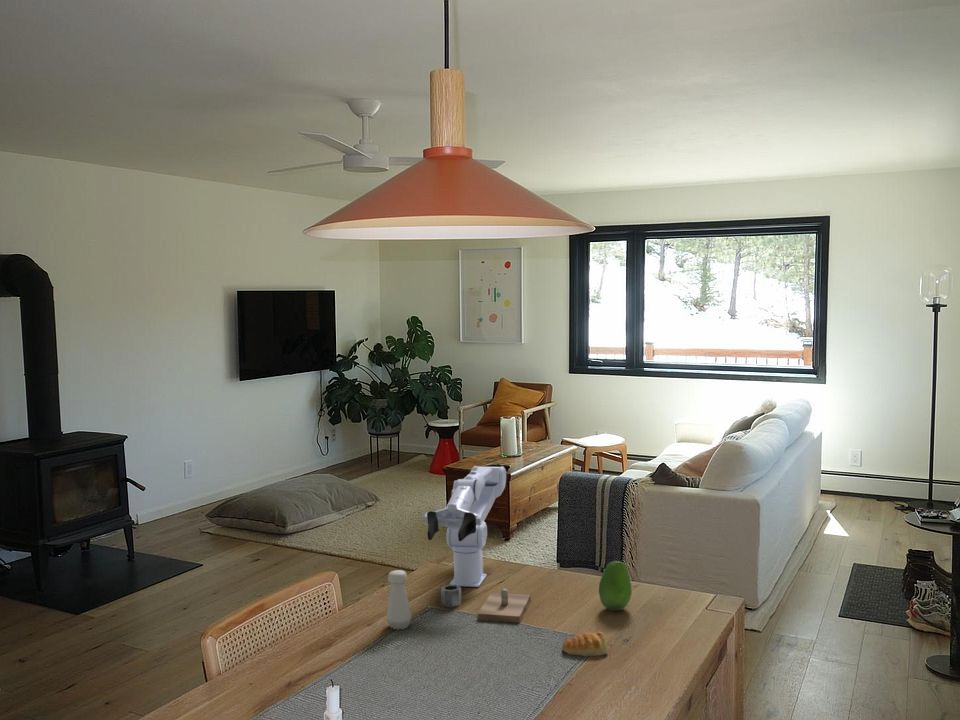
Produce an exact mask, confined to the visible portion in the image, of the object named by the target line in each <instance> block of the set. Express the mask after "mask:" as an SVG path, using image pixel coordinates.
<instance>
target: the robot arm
mask: <svg viewBox="0 0 960 720" xmlns="http://www.w3.org/2000/svg"><path fill="white" fill-rule="evenodd" d="M506 484H507V470H506V468H505V466H503V465H502V466H479V465H478V466H477V465H473V467H472V468H471V470H470V472H469V473H468V474H467V475H466V476H465V477H464V478H460V479H459V478H458V479H457V480H454V481H453V487H452V490H451V494H450V496H451V497H450V498H449V501H448V503H447V505H446V507H445V508H441V509H437V510H435V511H427V512H425V514H424V516H423V520H424V524H427V525H428V526H427V527H428V529H427V532H426V533H427V539H428V540H429V541H432V539H433V538H434V536H435V534H436V533H438V532H439V531H440V528H439V525H440V526H443V527H446V534H445V537H446V538H445V539H446V544H447V545H448V547H449V548H451V551H453V579H452V580H451V581H450V583H449V585H458V586H460V587H468V588H469V587H471V588H472V587H473V588H479V587H480V586H481V584H483V581H484V580H485V578H487V576H488V575H487V573H484V560H483V559H484V557H483V555H484V554H483V550H482V549H484V547H485V546H486V544H487V537H488V526H487V522H485V520H486V518H487V516H488V514H489V513H490V511H491V509H492V507H493V505H494V503H495V500H496V499H497V498H498V497H500V496H502V493H504V490H505V488H506Z"/></svg>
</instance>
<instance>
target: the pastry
mask: <svg viewBox="0 0 960 720" xmlns="http://www.w3.org/2000/svg"><path fill="white" fill-rule="evenodd" d="M561 648H562V650H563V652H564V653H566V654H567V655H570V654H571V656H573V655H574V656H580V657H589V656H603V655H606V654H607V653H608V652H609V649H608V644H607V640H606V636H605V634H604V632H603V631H600V630H599V631H597V632H591V631H590V632H583V633H580V634H578V635H576V636H572V637H570V638H568V639H566V640H564V641H563V643H562V645H561Z"/></svg>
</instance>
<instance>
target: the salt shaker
mask: <svg viewBox="0 0 960 720" xmlns="http://www.w3.org/2000/svg"><path fill="white" fill-rule="evenodd" d="M387 575H388V576H387V581H388V583H390V588H389V589H390V590H389V595H388V602H387V603H388V604H387V609H386V610H387V611H386V616H385V619H386V622H387V624H388V626H389V628H390V627H391V628H390V629H392V628H393V629H392V630H394V629H403V628H405V627H407V626H408V627H409V625H410V622H411V620H412V611H411V607H410V601H409V599H408V594H407V589H406V584H405V583H406V582H407V579H408V575H407V572H406V571H404V570H402V569H396V570H395V569H394V570H392V571H390V572H389V573H388V574H387ZM408 627H407V628H408ZM405 629H406V628H405ZM403 630H404V629H403Z"/></svg>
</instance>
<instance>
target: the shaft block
mask: <svg viewBox="0 0 960 720" xmlns="http://www.w3.org/2000/svg"><path fill="white" fill-rule="evenodd" d="M530 603H531V594H520V593H509V590H508V588H501V589H500V592H490V594H489V596H488V597H487V599H486V600H485V602H484V604H483V605H482V606H481V607H480V609H479V611H478V612H477V620H478V619H480V620H479V621H487V620H491V622H501V621H505V622H504V623H515V624H516V623H521V621H522V619H523V617H524V615H525V613H526V612H527V609H528V607H529V605H530Z"/></svg>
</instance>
